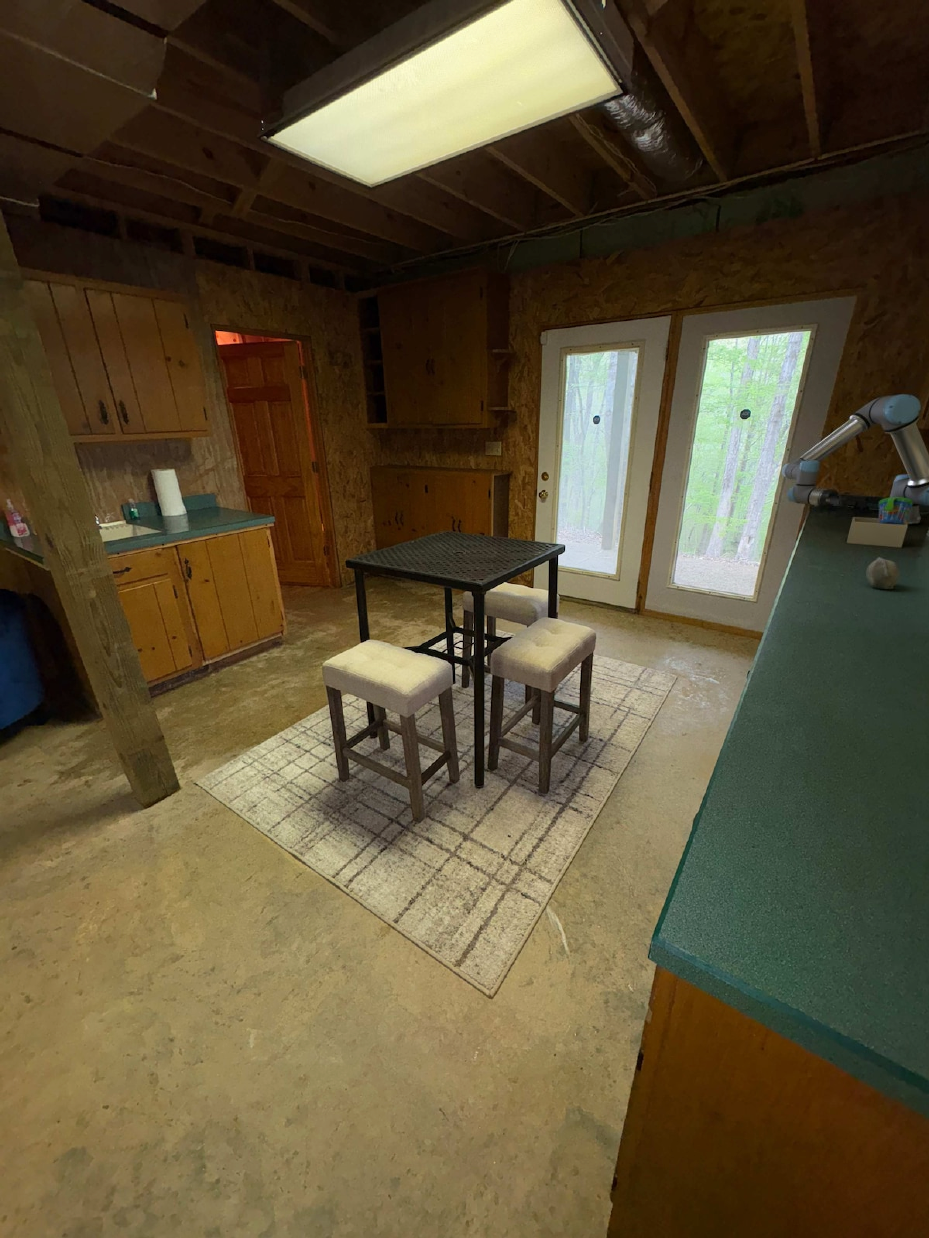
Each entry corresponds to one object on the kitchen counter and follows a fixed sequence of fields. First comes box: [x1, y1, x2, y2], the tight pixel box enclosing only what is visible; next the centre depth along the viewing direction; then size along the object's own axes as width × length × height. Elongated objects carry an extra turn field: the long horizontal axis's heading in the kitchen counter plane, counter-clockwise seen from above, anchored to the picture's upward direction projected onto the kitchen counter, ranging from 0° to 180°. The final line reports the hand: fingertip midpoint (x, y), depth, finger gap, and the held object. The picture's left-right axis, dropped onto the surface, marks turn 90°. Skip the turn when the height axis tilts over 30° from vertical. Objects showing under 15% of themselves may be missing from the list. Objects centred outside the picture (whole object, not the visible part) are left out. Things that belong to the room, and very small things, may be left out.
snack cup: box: [877, 497, 913, 525], centre depth 196 cm, size 16×10×10 cm
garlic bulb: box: [865, 557, 900, 590], centre depth 150 cm, size 9×8×10 cm
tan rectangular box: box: [846, 516, 909, 548], centre depth 202 cm, size 13×18×9 cm
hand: (876, 503), depth 200 cm, fingers open, 13 cm apart
